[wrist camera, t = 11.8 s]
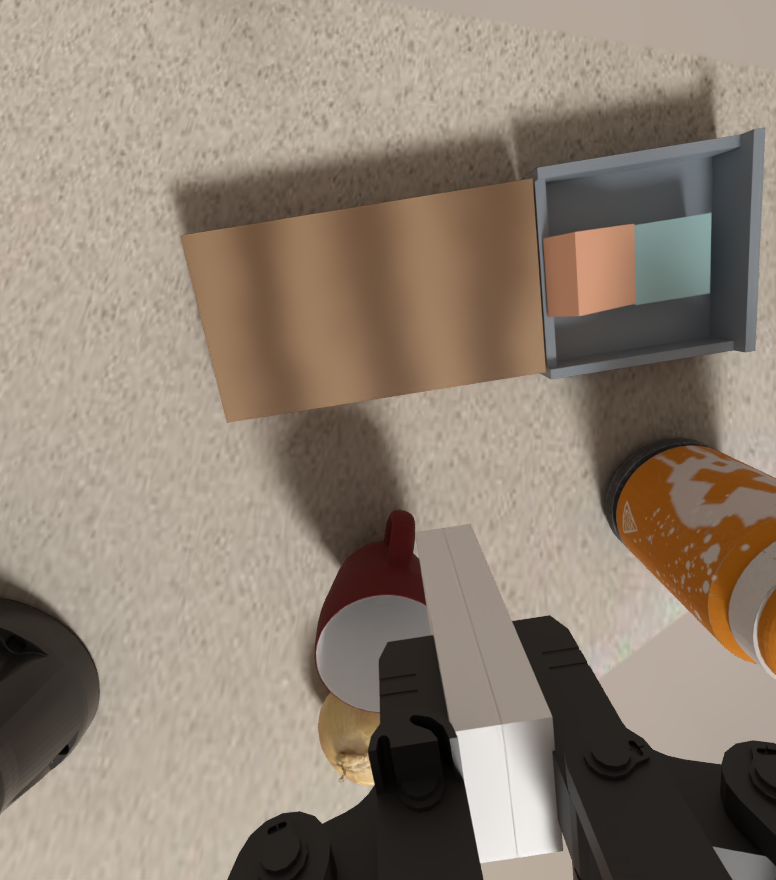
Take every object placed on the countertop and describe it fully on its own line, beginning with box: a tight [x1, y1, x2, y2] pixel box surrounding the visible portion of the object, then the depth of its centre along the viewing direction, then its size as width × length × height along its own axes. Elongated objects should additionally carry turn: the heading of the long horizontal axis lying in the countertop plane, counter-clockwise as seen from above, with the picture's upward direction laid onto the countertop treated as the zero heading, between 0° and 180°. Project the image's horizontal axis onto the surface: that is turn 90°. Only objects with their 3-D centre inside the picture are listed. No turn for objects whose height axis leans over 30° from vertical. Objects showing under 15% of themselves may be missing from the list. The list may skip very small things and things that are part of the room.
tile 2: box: [543, 224, 636, 317], centre depth 31 cm, size 4×4×2 cm
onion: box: [318, 692, 380, 785], centre depth 39 cm, size 8×8×7 cm
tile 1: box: [632, 213, 711, 305], centre depth 32 cm, size 4×4×2 cm
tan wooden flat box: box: [180, 178, 546, 423], centre depth 33 cm, size 20×11×3 cm, turn 99°
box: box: [522, 128, 765, 379], centre depth 32 cm, size 12×12×4 cm
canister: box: [606, 438, 776, 680], centre depth 29 cm, size 9×11×20 cm
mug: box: [315, 510, 431, 713], centre depth 34 cm, size 10×8×10 cm
